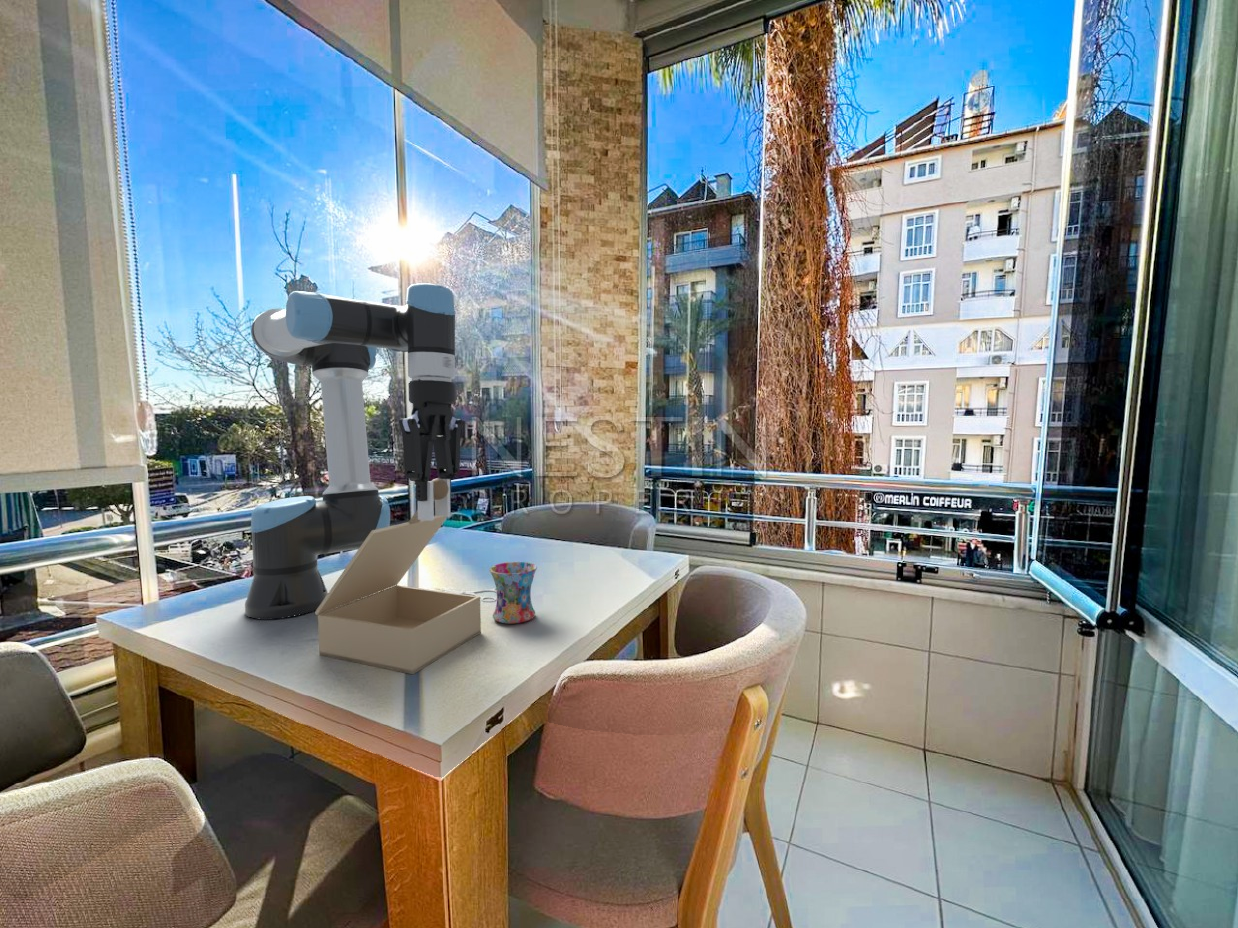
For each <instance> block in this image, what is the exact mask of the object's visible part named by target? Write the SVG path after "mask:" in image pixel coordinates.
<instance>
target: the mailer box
mask: <svg viewBox="0 0 1238 928" xmlns="http://www.w3.org/2000/svg"><path fill="white" fill-rule="evenodd" d="M479 596H480V595H478V596H472V595H464V594H457V593H453V592H448V591H443V590H436V589H429V588H427V589H425V588H417V587H412V586H406V585H398V584H397V585H395V586H393V587H390V588H387V589H385V590H382V591H379V592H377V593H374V594H371V595H369V596H366V597H363V598H361V599H358V600H356V601H353V602H350V603H348V604H345V605H342V606H340V607H337V608H334V609H332V610H329V611H327V612H324V613H321V614H319V615H317V626H318V649H319V650H318V651H319V652H318V653H319V656H323V657H328V658H333V659H337V660H338V659H339V660H342V661H348V662H351V663H357V664H361V665H366V666H371V667H375V668H376V667H377V668H382V669H385V670H390V671H395V672H401V673H404V674H409V675H414V674H416V673H418V672H419V671H421V670H423V669H424V668H426V667H427V666H429V665H431V664H432V663H434V662H436V661H437V660H439V659H441V658H442V657H444V656H446V655H448V653H451V652H452V651H454V650H456V649H457V648H459V647H460V646H462V645H463V644H465V643H467V642H468V641H470V640H471V639H473V638H475V637H476V636H478V635H480V634H481V632H482V631H481V630H482V629H481V628H482V625H481V622H482V621H481V620H482V619H481V617H482V616H481V615H482V613H481V599H480V597H479Z"/></svg>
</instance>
